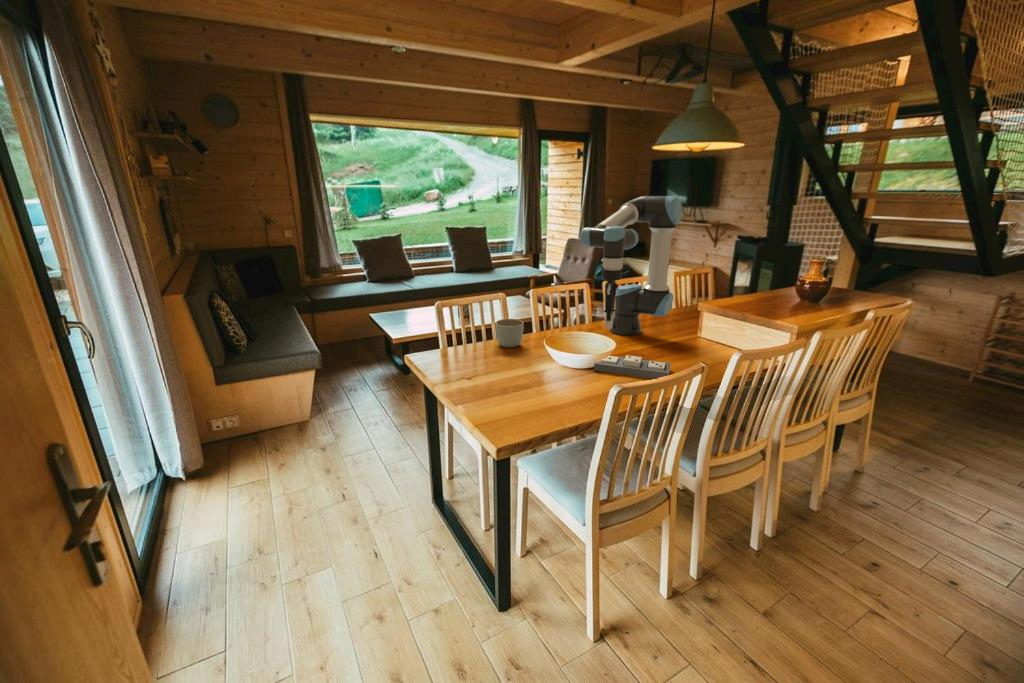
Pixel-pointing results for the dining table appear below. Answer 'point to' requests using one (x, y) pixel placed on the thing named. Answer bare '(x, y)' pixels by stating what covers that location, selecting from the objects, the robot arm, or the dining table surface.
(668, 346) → the dining table surface
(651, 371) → the board
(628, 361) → the tile two pips
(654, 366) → the tile three pips
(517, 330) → the planter
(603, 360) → the tile one pip
